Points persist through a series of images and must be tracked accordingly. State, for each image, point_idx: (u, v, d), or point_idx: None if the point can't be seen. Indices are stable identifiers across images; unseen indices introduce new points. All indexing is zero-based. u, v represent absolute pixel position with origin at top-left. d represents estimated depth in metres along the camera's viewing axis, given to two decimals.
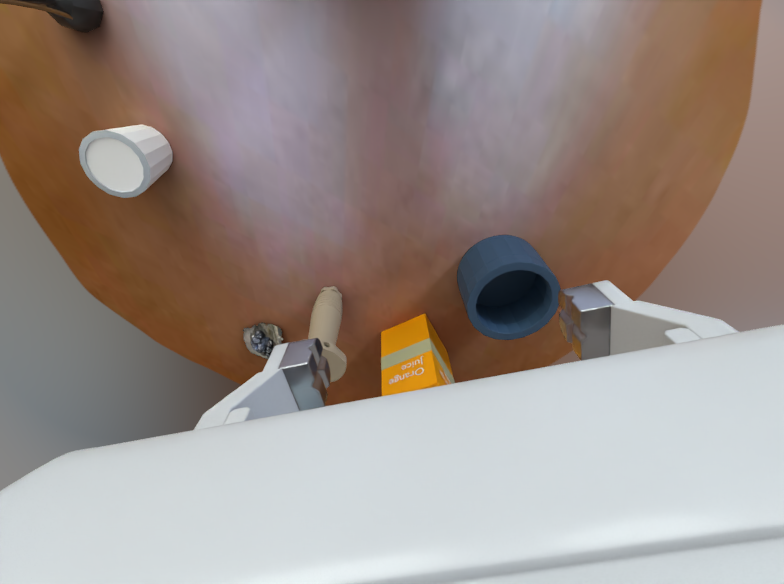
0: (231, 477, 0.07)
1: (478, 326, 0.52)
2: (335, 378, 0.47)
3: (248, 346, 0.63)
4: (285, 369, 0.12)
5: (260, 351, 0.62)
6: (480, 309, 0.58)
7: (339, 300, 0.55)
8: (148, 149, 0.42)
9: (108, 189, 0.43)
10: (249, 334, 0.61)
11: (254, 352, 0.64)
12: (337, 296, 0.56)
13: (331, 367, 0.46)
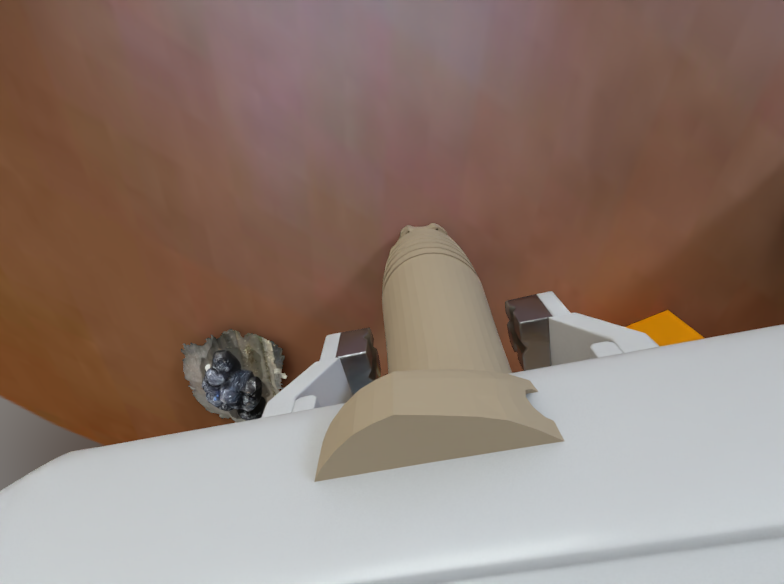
0: (231, 477, 0.07)
1: None
2: None
3: (198, 394, 0.25)
4: (343, 358, 0.12)
5: (226, 407, 0.24)
6: None
7: (464, 253, 0.18)
8: None
9: None
10: (199, 361, 0.23)
11: (213, 410, 0.25)
12: (455, 243, 0.18)
13: None
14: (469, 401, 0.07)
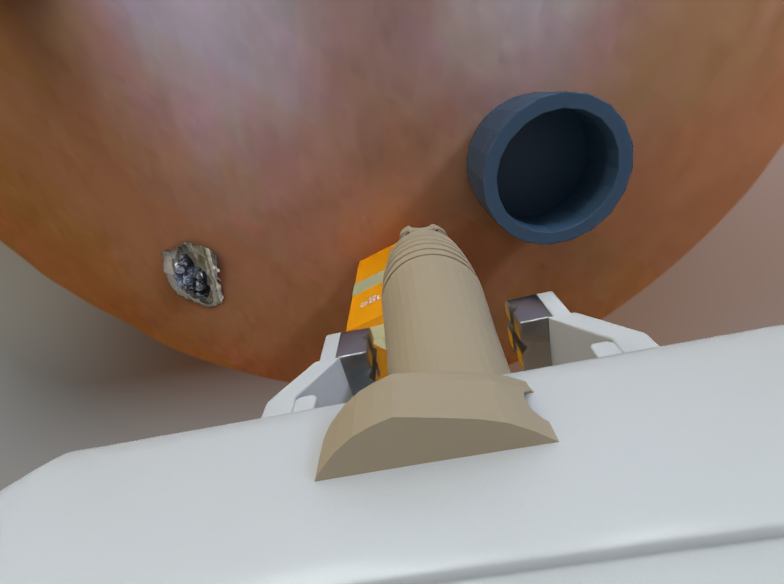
0: (231, 477, 0.07)
1: (501, 218, 0.33)
2: None
3: (171, 282, 0.44)
4: (343, 358, 0.12)
5: (187, 288, 0.44)
6: None
7: None
8: None
9: None
10: (171, 261, 0.43)
11: (181, 293, 0.45)
12: (455, 244, 0.18)
13: None
14: (467, 403, 0.07)
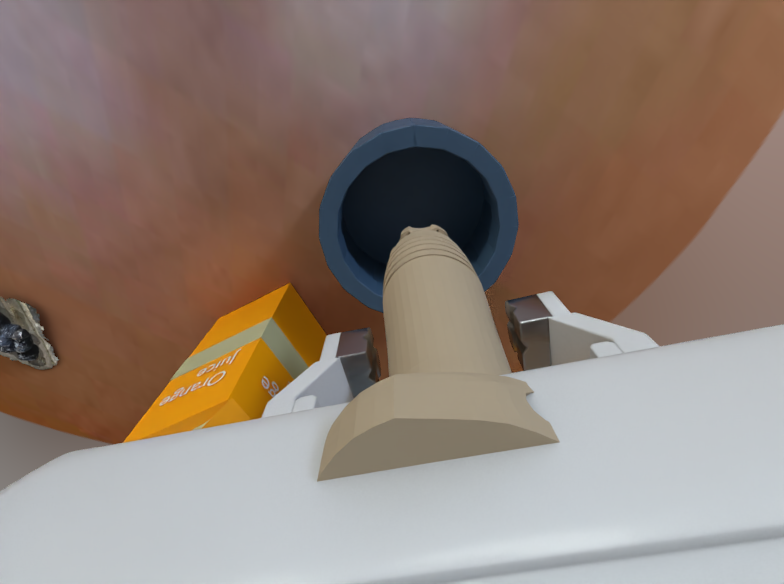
0: (231, 477, 0.07)
1: (351, 286, 0.25)
2: None
3: None
4: (343, 358, 0.12)
5: (4, 350, 0.35)
6: (380, 269, 0.31)
7: None
8: None
9: None
10: None
11: (3, 354, 0.37)
12: (456, 244, 0.18)
13: None
14: (469, 405, 0.07)
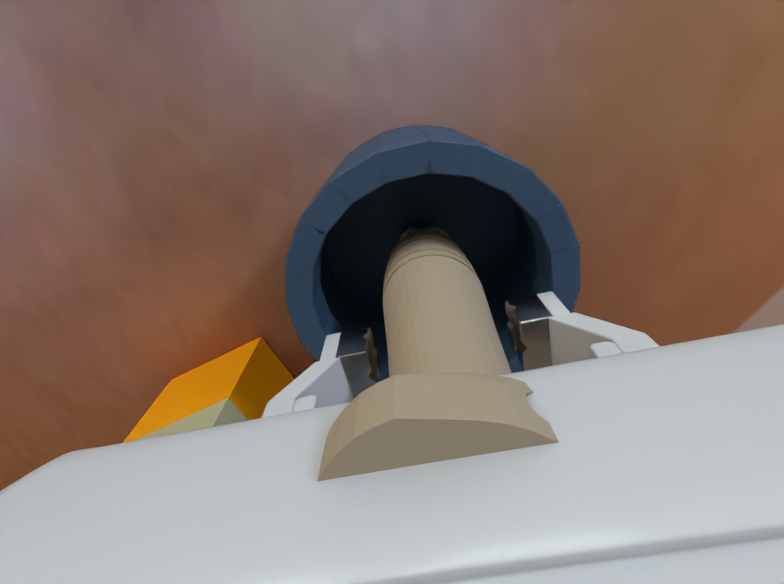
0: (231, 477, 0.07)
1: None
2: None
3: None
4: (343, 358, 0.12)
5: None
6: (377, 326, 0.23)
7: (464, 255, 0.18)
8: None
9: None
10: None
11: None
12: None
13: None
14: (470, 405, 0.07)
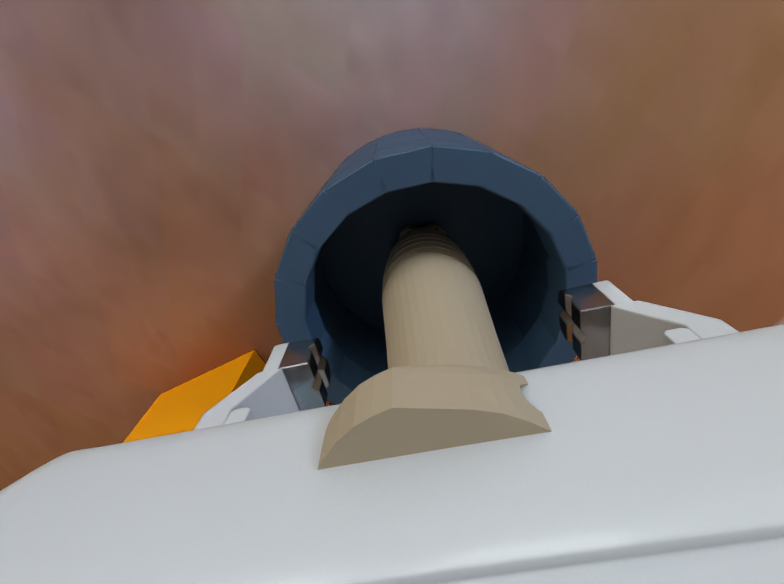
0: (231, 477, 0.07)
1: (330, 391, 0.16)
2: None
3: None
4: (285, 369, 0.12)
5: None
6: (376, 340, 0.22)
7: None
8: None
9: None
10: None
11: None
12: (454, 242, 0.18)
13: None
14: (465, 395, 0.07)
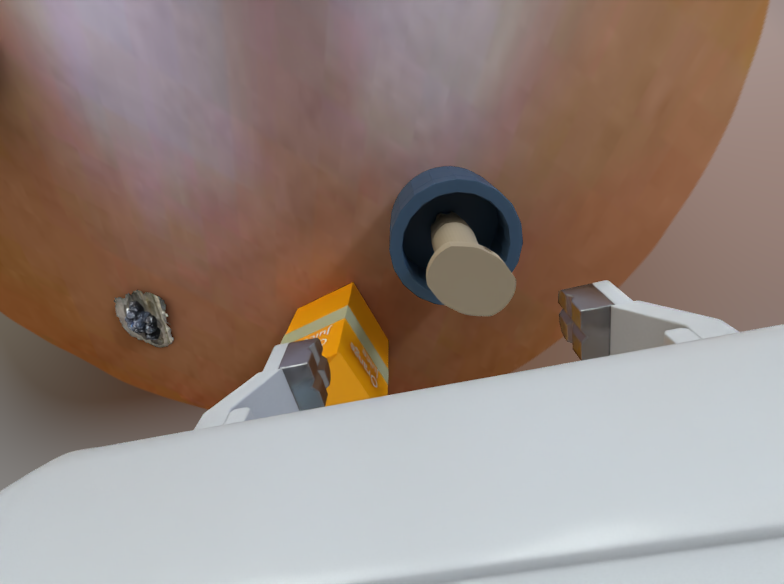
0: (231, 477, 0.07)
1: (409, 283, 0.37)
2: (494, 310, 0.30)
3: (124, 325, 0.48)
4: (285, 369, 0.12)
5: (137, 331, 0.47)
6: (422, 272, 0.43)
7: None
8: None
9: None
10: (123, 306, 0.46)
11: (133, 334, 0.49)
12: None
13: (491, 289, 0.29)
14: (468, 245, 0.28)
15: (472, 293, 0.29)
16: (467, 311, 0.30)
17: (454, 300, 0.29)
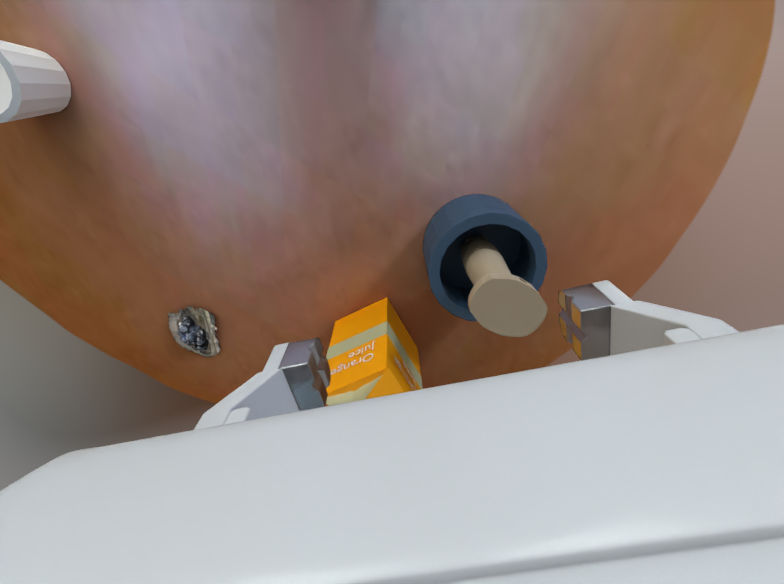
0: (231, 477, 0.07)
1: (444, 302, 0.42)
2: (527, 331, 0.34)
3: (176, 337, 0.52)
4: (285, 369, 0.12)
5: (189, 343, 0.51)
6: (452, 289, 0.47)
7: None
8: (22, 63, 0.34)
9: None
10: (176, 321, 0.51)
11: (183, 346, 0.53)
12: None
13: (525, 314, 0.33)
14: (507, 277, 0.32)
15: (508, 318, 0.33)
16: (504, 332, 0.34)
17: (493, 323, 0.34)
